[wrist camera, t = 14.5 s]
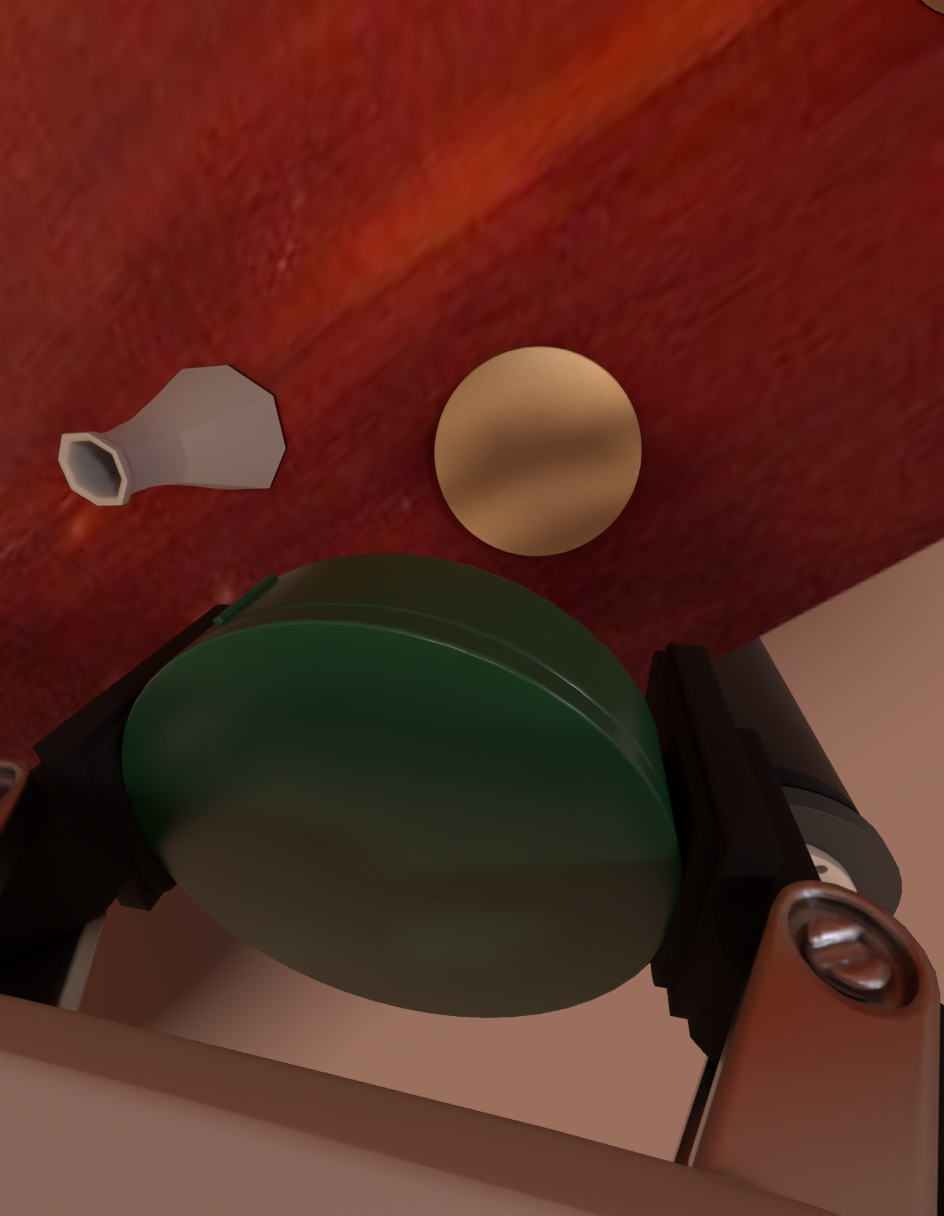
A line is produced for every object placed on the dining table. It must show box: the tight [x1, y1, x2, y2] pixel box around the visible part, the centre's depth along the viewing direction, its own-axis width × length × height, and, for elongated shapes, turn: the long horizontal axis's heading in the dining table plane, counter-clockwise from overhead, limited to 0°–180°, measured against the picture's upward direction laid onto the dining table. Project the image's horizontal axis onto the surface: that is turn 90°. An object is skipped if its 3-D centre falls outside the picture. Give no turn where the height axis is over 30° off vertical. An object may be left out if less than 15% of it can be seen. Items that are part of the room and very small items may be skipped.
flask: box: [58, 365, 286, 506], centre depth 26 cm, size 7×7×10 cm
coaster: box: [435, 346, 642, 556], centre depth 28 cm, size 11×11×1 cm
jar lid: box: [121, 554, 683, 1018], centre depth 7 cm, size 7×7×2 cm
